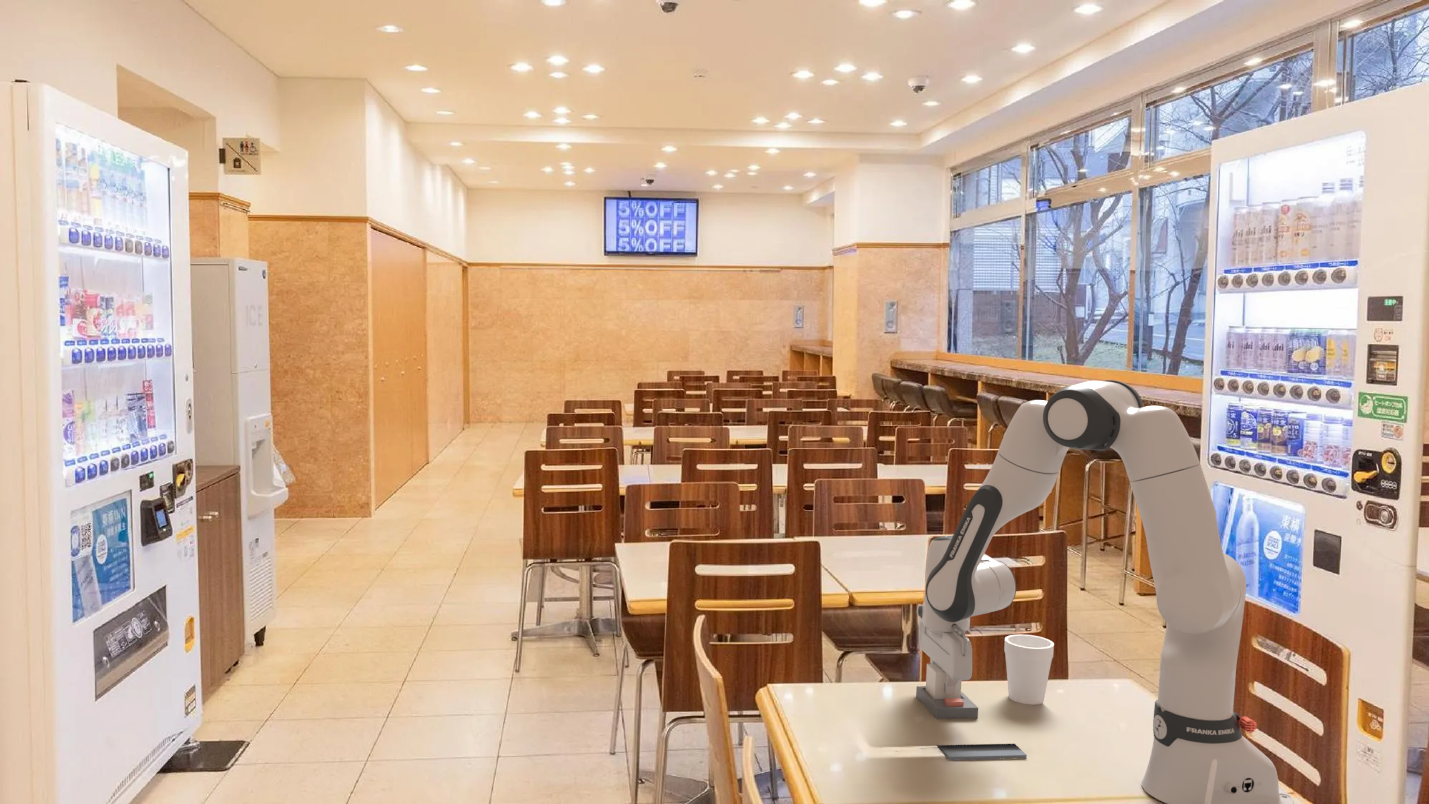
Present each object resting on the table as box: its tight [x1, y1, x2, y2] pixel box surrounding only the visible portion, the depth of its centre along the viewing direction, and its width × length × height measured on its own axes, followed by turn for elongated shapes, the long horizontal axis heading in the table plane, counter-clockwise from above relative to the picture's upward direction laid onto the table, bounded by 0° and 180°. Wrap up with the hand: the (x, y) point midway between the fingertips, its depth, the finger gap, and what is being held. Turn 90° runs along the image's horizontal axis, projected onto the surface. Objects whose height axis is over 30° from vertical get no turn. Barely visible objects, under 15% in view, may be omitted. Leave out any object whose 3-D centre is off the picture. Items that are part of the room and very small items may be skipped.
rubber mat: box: [935, 743, 1028, 761], centre depth 185 cm, size 14×12×1 cm
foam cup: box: [1003, 634, 1055, 705], centre depth 206 cm, size 10×9×13 cm
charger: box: [925, 663, 963, 699], centre depth 202 cm, size 5×5×7 cm
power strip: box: [915, 685, 979, 720], centre depth 200 cm, size 8×12×4 cm, turn 7°
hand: (943, 687), depth 202 cm, fingers closed on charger, 5 cm apart
